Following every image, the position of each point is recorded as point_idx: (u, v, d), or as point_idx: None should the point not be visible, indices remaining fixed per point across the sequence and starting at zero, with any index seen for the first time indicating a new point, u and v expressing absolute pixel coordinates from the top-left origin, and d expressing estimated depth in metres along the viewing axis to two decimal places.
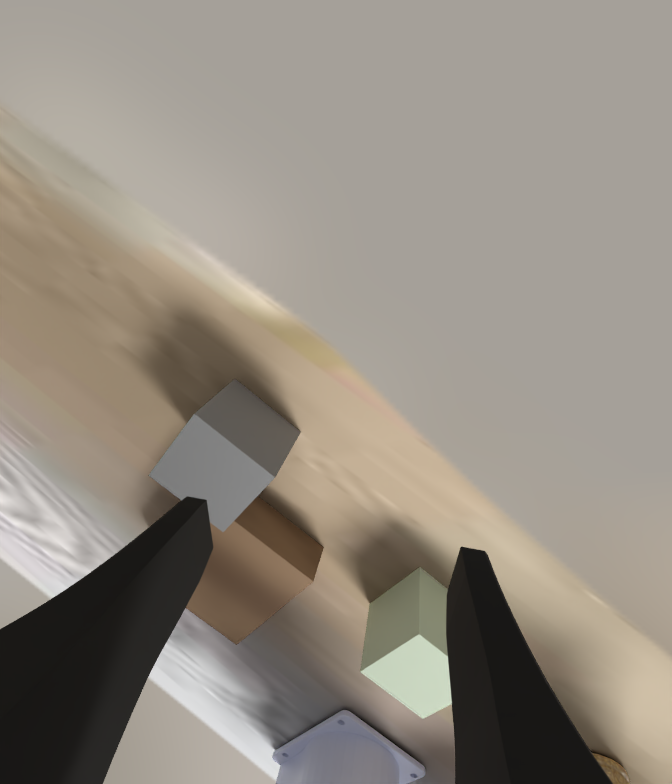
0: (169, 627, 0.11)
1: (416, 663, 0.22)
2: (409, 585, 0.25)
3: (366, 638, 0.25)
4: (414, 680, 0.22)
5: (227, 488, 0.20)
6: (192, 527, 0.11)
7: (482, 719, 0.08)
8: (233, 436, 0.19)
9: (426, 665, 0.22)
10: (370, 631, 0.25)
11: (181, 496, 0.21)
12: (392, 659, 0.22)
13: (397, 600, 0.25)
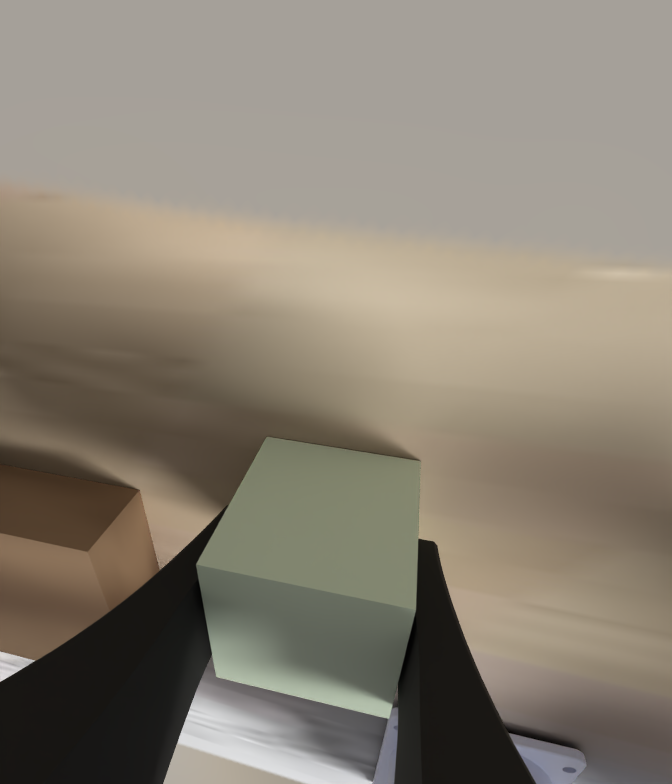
0: None
1: (261, 624, 0.10)
2: None
3: None
4: (298, 657, 0.10)
5: None
6: None
7: (412, 703, 0.08)
8: None
9: (277, 619, 0.09)
10: None
11: None
12: (224, 635, 0.10)
13: None
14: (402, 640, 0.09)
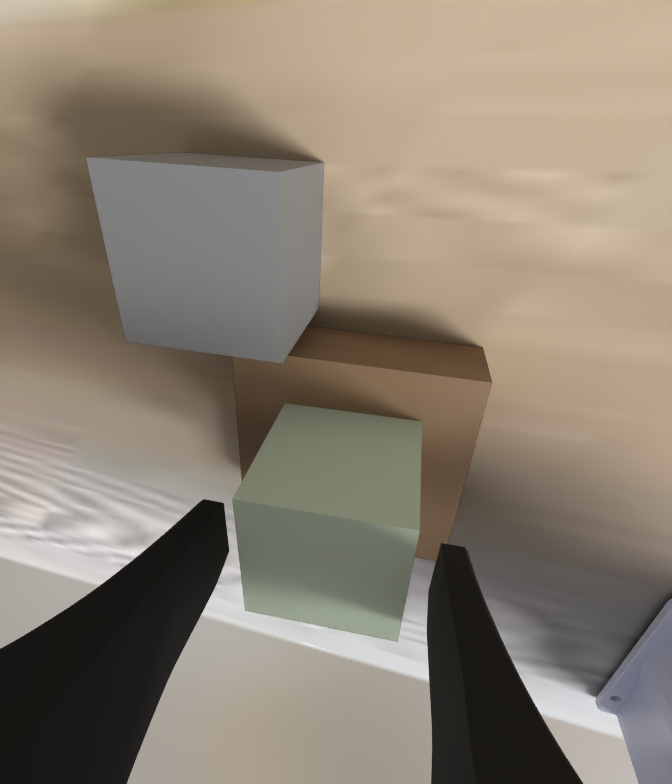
0: (187, 631, 0.11)
1: (287, 553, 0.11)
2: None
3: None
4: (318, 584, 0.11)
5: (230, 269, 0.10)
6: (210, 530, 0.11)
7: (454, 712, 0.08)
8: (176, 162, 0.10)
9: (301, 548, 0.11)
10: None
11: (186, 343, 0.12)
12: (254, 566, 0.12)
13: None
14: (408, 562, 0.10)
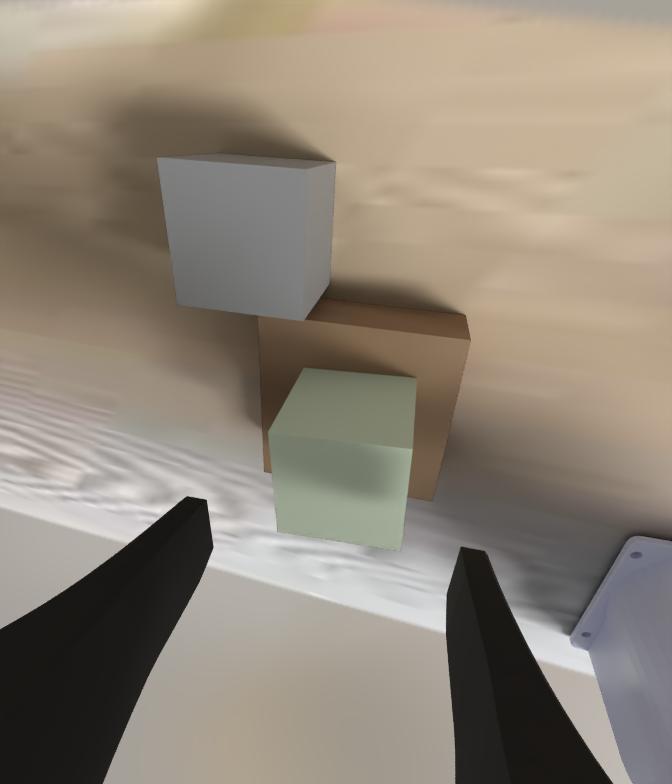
0: (169, 627, 0.11)
1: (311, 477, 0.14)
2: None
3: None
4: (336, 502, 0.14)
5: (265, 244, 0.13)
6: (192, 527, 0.11)
7: (482, 719, 0.08)
8: (225, 161, 0.13)
9: (322, 471, 0.14)
10: None
11: (227, 305, 0.15)
12: (285, 490, 0.15)
13: None
14: (405, 477, 0.13)
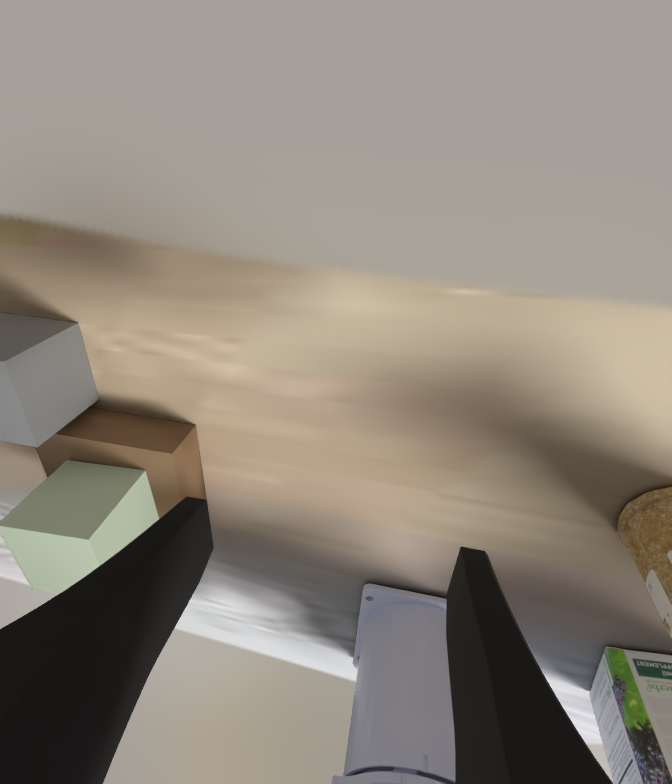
0: (169, 627, 0.11)
1: (36, 553, 0.20)
2: None
3: None
4: (59, 571, 0.20)
5: None
6: (192, 527, 0.11)
7: (482, 719, 0.08)
8: None
9: (41, 550, 0.19)
10: None
11: None
12: (23, 562, 0.20)
13: None
14: (93, 556, 0.19)
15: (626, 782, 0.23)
